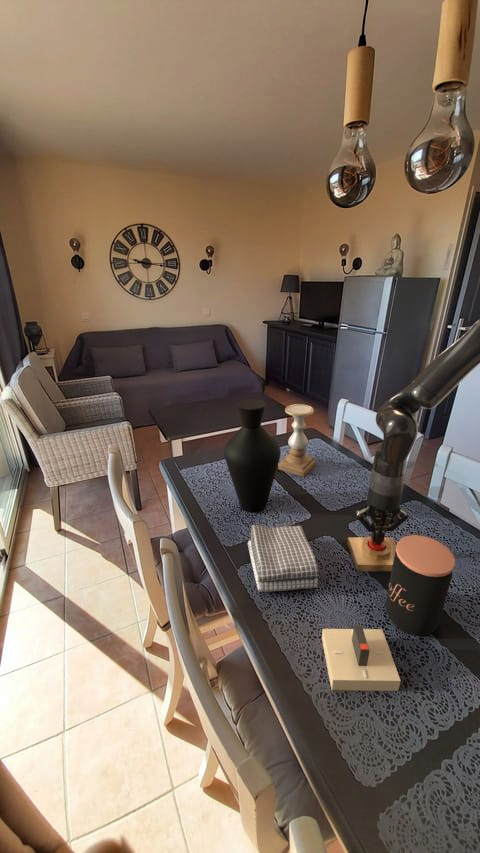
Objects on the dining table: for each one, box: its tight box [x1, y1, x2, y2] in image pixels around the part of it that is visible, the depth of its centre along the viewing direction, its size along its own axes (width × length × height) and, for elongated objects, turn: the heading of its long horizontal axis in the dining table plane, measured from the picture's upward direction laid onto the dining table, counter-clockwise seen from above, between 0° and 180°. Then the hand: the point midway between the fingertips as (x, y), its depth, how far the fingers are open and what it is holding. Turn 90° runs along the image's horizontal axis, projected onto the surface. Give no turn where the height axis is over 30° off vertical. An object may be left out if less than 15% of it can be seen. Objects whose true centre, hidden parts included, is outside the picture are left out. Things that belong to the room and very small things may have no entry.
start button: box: [368, 538, 385, 551], centre depth 94 cm, size 4×4×2 cm
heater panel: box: [321, 628, 401, 692], centre depth 69 cm, size 12×10×3 cm
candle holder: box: [277, 403, 317, 478], centre depth 134 cm, size 11×11×24 cm
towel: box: [247, 524, 320, 593], centre depth 92 cm, size 15×18×8 cm
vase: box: [223, 398, 282, 514], centre depth 110 cm, size 17×17×35 cm
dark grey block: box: [352, 625, 369, 666], centre depth 68 cm, size 5×2×4 cm, turn 178°
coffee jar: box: [384, 534, 456, 637], centre depth 75 cm, size 11×11×18 cm
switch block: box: [347, 535, 397, 572], centre depth 94 cm, size 12×10×4 cm
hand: (376, 542), depth 93 cm, fingers closed
